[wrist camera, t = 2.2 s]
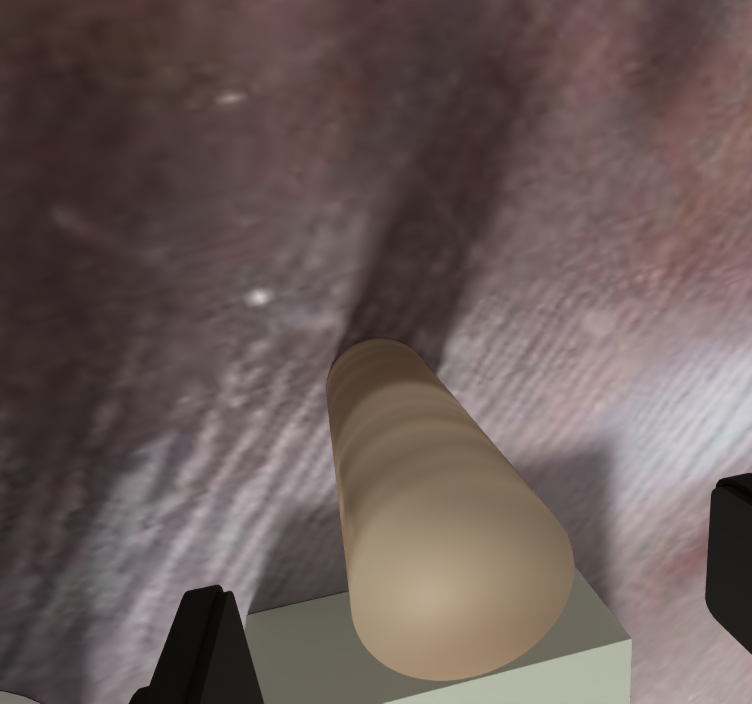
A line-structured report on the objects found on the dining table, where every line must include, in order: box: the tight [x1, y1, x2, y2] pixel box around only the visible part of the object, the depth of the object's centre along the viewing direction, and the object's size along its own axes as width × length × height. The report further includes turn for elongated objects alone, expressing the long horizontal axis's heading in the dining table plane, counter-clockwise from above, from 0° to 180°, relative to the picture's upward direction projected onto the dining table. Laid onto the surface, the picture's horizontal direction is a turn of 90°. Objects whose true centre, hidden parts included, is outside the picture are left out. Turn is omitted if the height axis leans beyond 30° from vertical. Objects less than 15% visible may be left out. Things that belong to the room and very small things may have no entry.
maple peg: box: [326, 338, 575, 681], centre depth 13 cm, size 4×4×10 cm
